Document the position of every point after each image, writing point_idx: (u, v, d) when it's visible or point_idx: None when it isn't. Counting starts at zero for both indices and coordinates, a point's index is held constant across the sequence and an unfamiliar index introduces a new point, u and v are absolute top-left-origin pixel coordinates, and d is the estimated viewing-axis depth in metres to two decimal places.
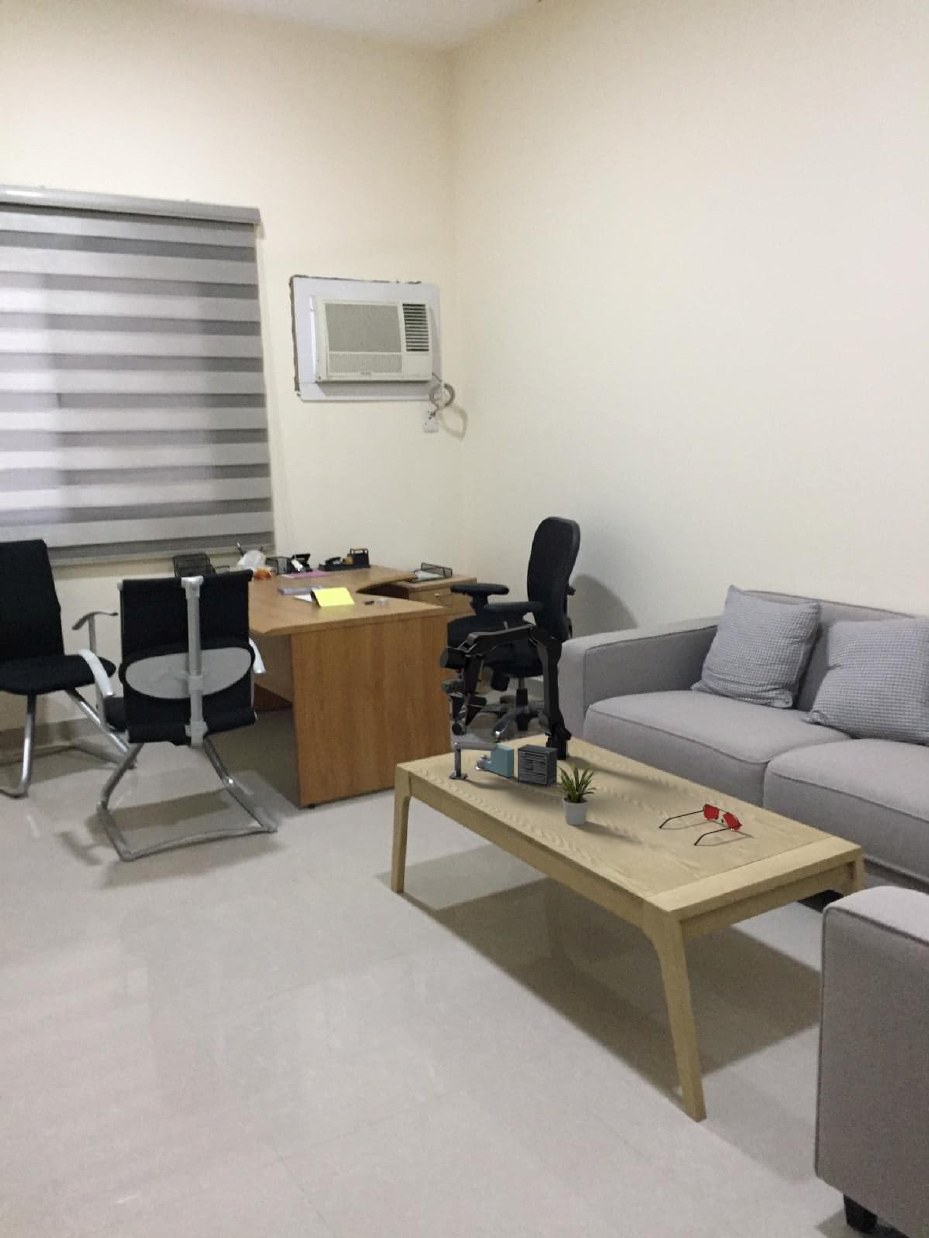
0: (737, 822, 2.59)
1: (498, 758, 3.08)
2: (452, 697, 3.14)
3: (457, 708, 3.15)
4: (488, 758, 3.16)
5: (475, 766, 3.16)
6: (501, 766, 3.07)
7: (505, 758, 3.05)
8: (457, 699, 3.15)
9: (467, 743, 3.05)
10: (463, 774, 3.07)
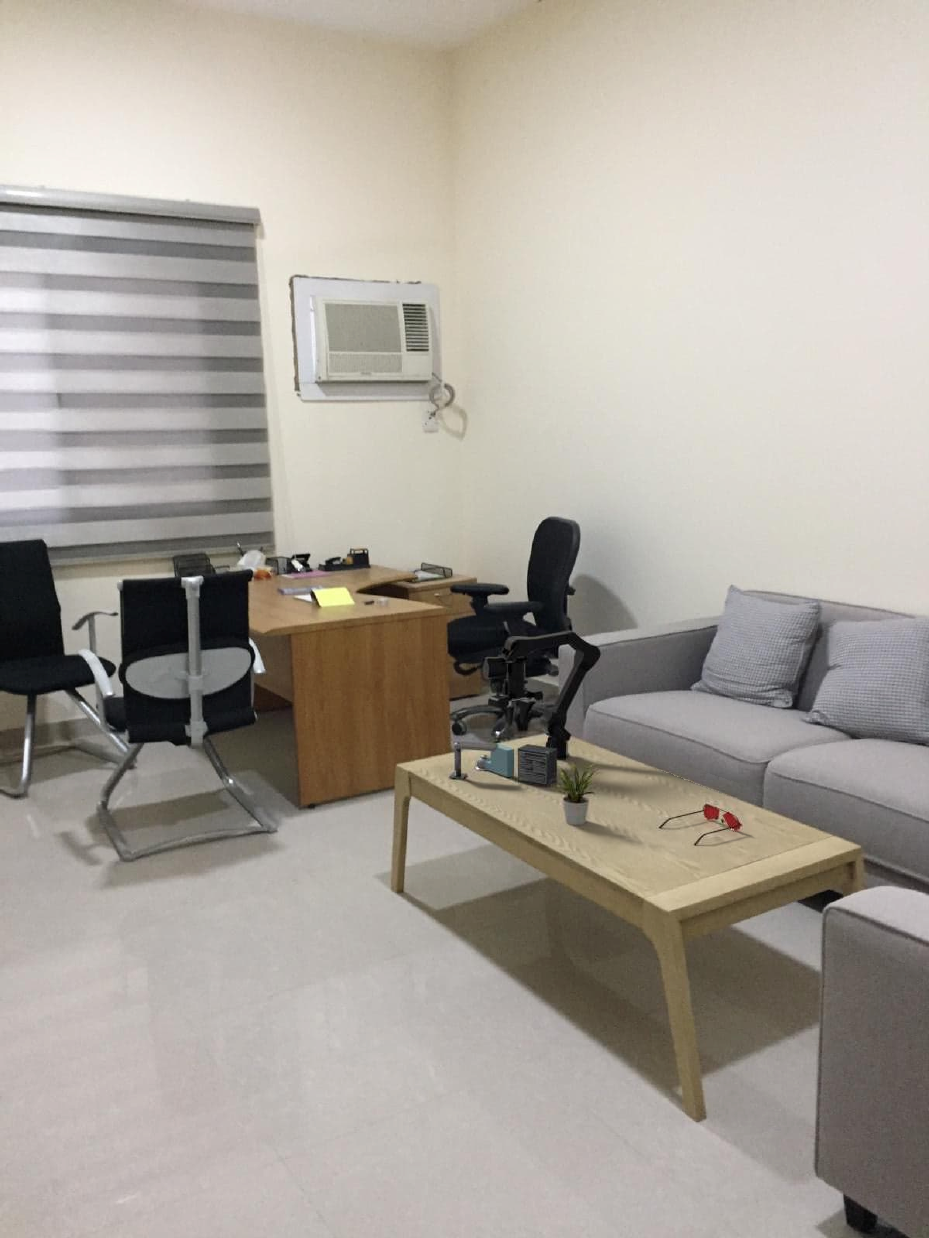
0: (737, 822, 2.59)
1: (498, 758, 3.08)
2: (519, 702, 3.23)
3: (523, 713, 3.22)
4: (488, 758, 3.16)
5: (475, 766, 3.16)
6: (501, 766, 3.07)
7: (505, 758, 3.05)
8: (523, 703, 3.22)
9: (467, 743, 3.05)
10: (463, 774, 3.07)
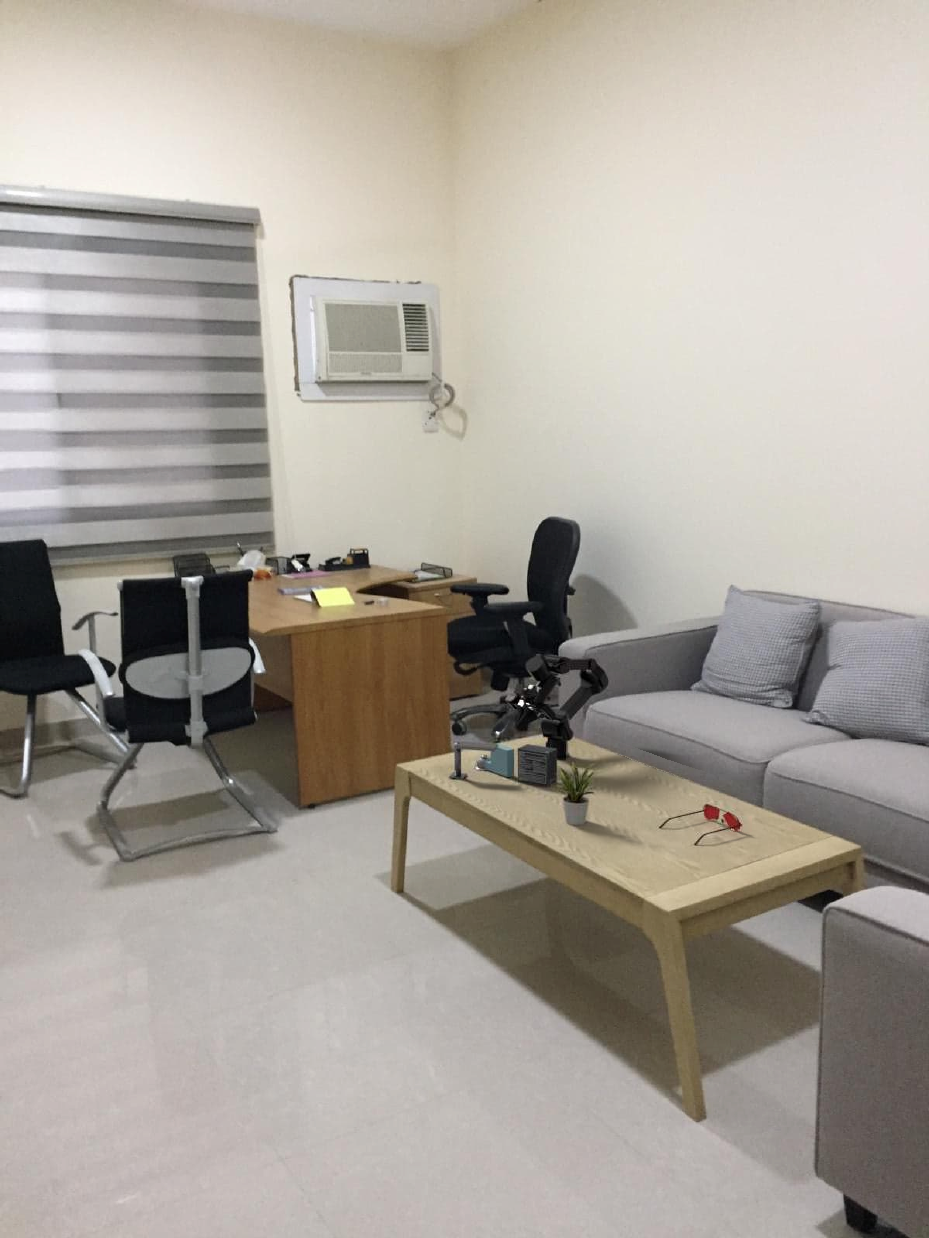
0: (737, 822, 2.59)
1: (498, 758, 3.08)
2: (522, 708, 3.14)
3: None
4: (488, 758, 3.16)
5: (475, 766, 3.16)
6: (501, 766, 3.07)
7: (505, 758, 3.05)
8: None
9: (467, 743, 3.05)
10: (463, 774, 3.07)
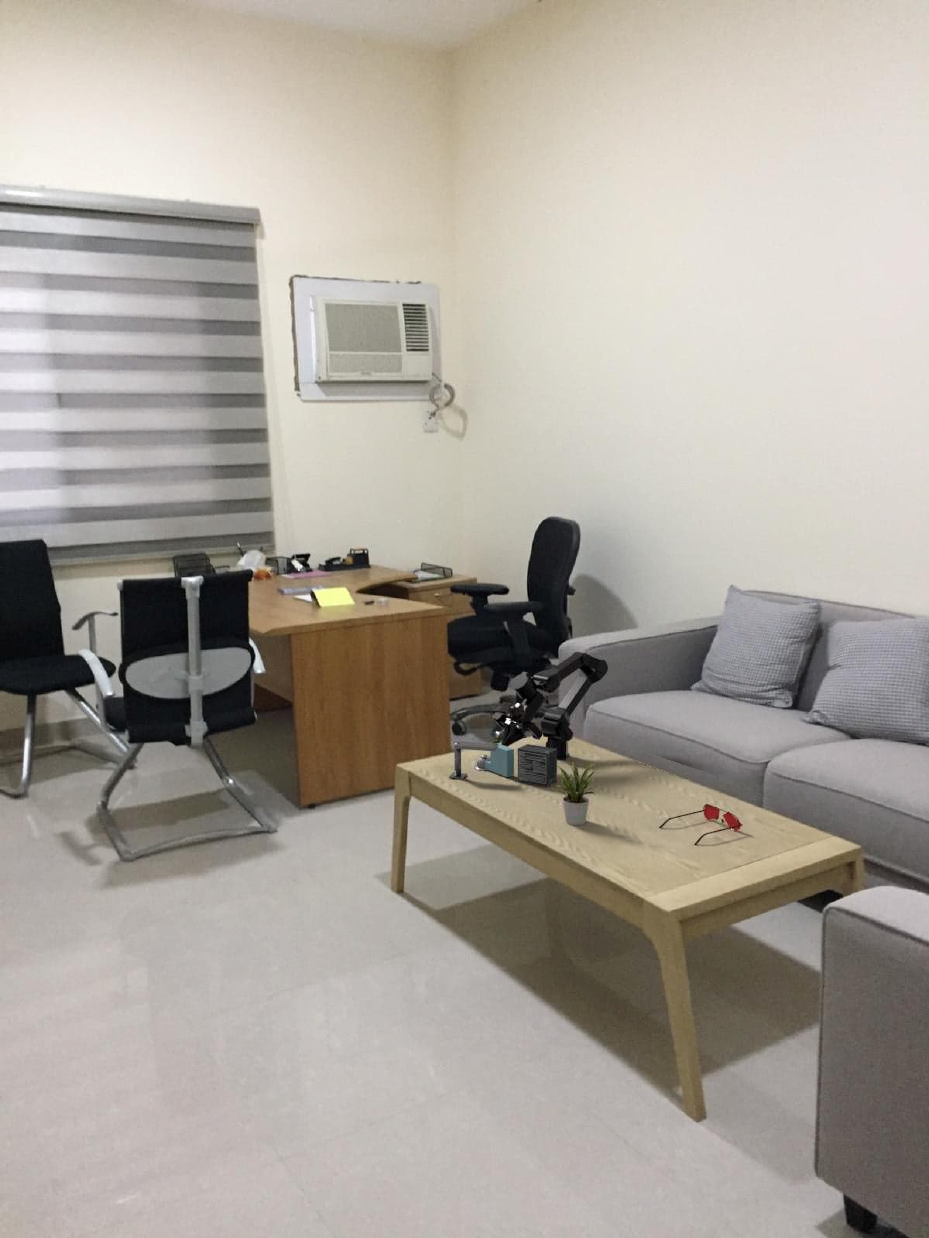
0: (737, 822, 2.59)
1: (498, 758, 3.08)
2: (508, 726, 3.12)
3: None
4: (488, 758, 3.16)
5: (475, 766, 3.16)
6: (500, 766, 3.07)
7: (504, 758, 3.05)
8: None
9: (467, 743, 3.05)
10: (463, 774, 3.07)
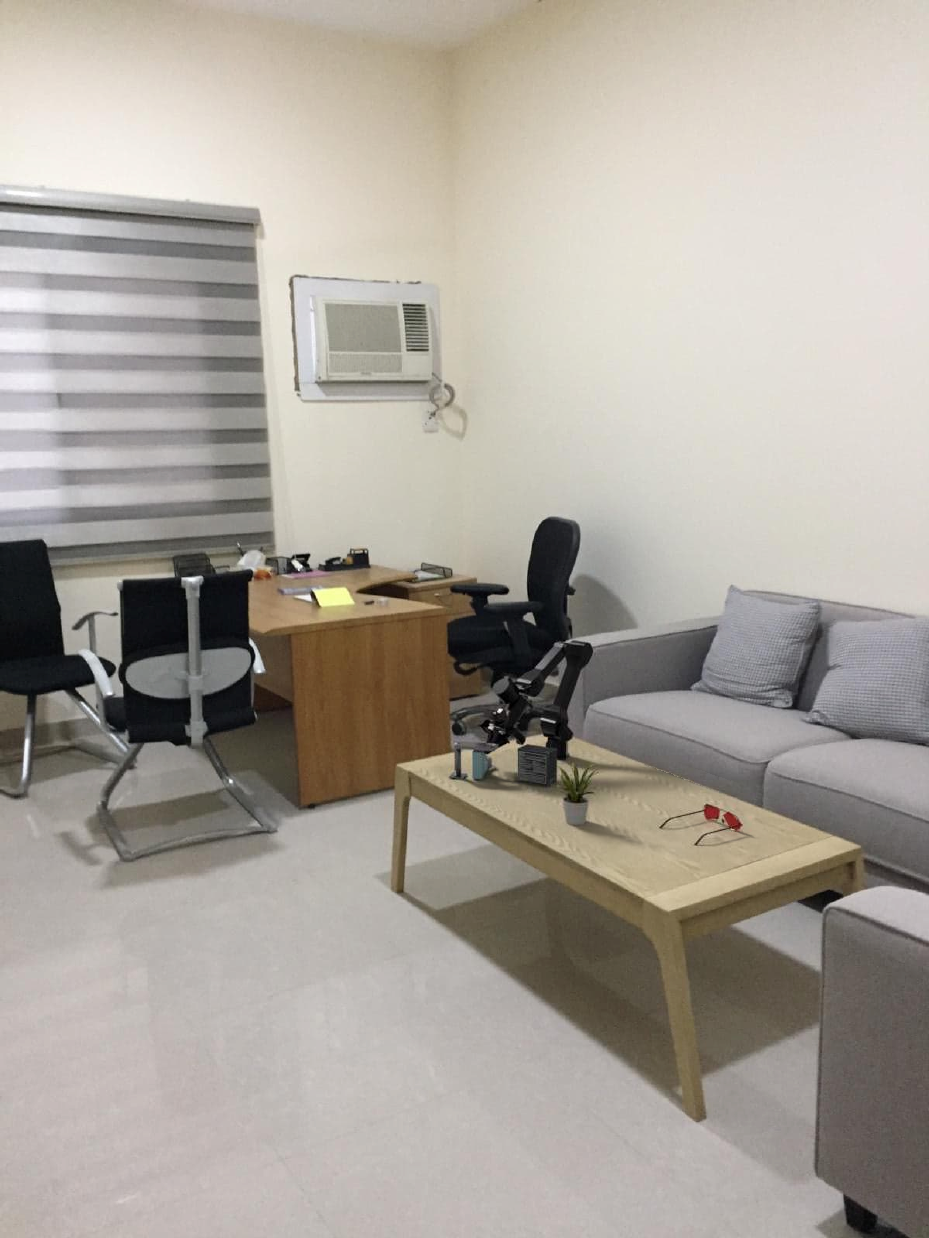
0: (738, 822, 2.59)
1: None
2: (492, 732, 3.08)
3: None
4: (487, 759, 3.15)
5: None
6: None
7: None
8: None
9: (467, 743, 3.05)
10: (463, 774, 3.07)
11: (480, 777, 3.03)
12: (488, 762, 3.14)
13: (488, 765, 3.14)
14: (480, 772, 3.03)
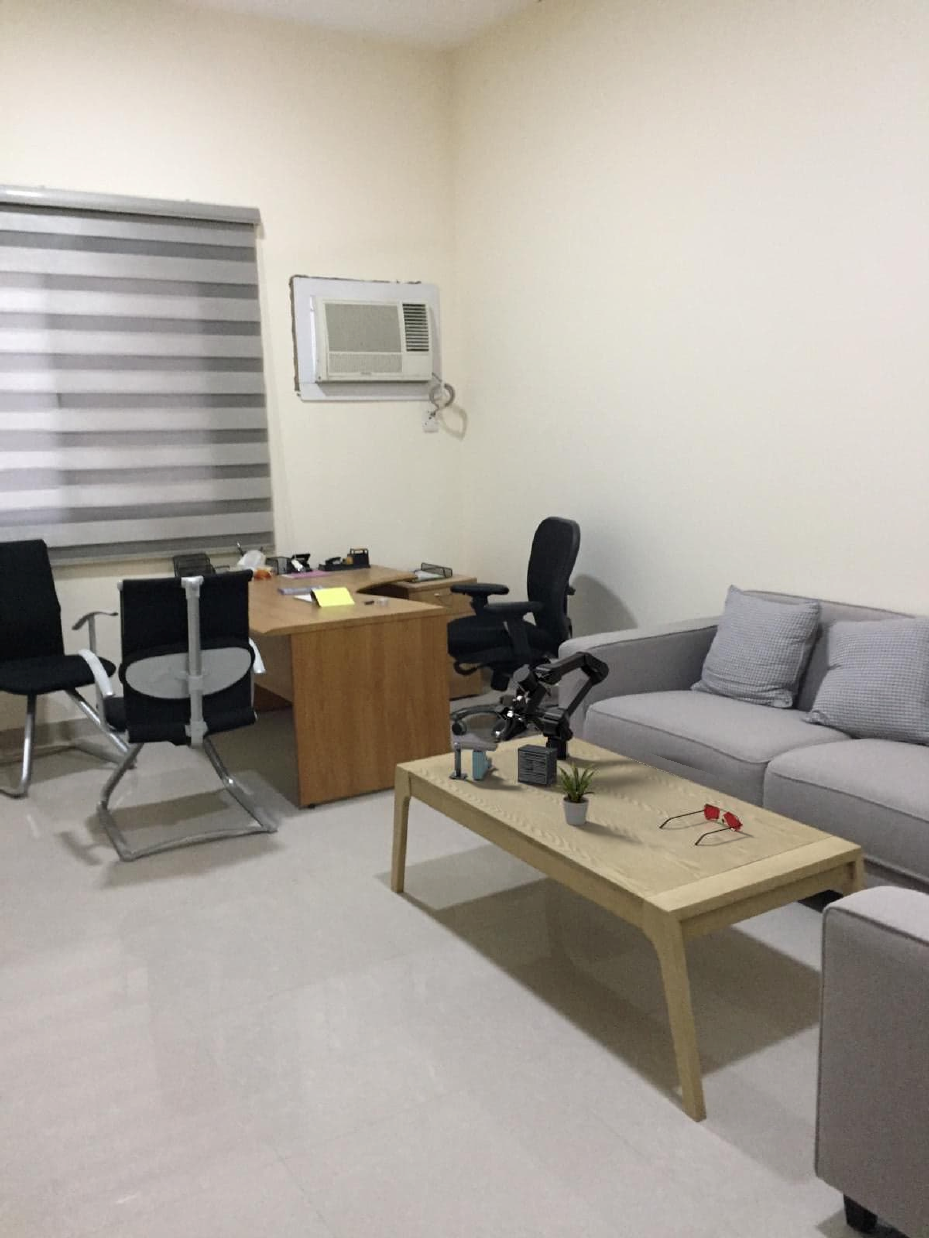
0: (738, 822, 2.59)
1: None
2: (511, 719, 3.12)
3: None
4: (487, 759, 3.15)
5: None
6: None
7: None
8: None
9: (467, 743, 3.05)
10: (463, 774, 3.07)
11: (480, 777, 3.03)
12: (488, 762, 3.14)
13: (488, 765, 3.14)
14: (480, 772, 3.03)
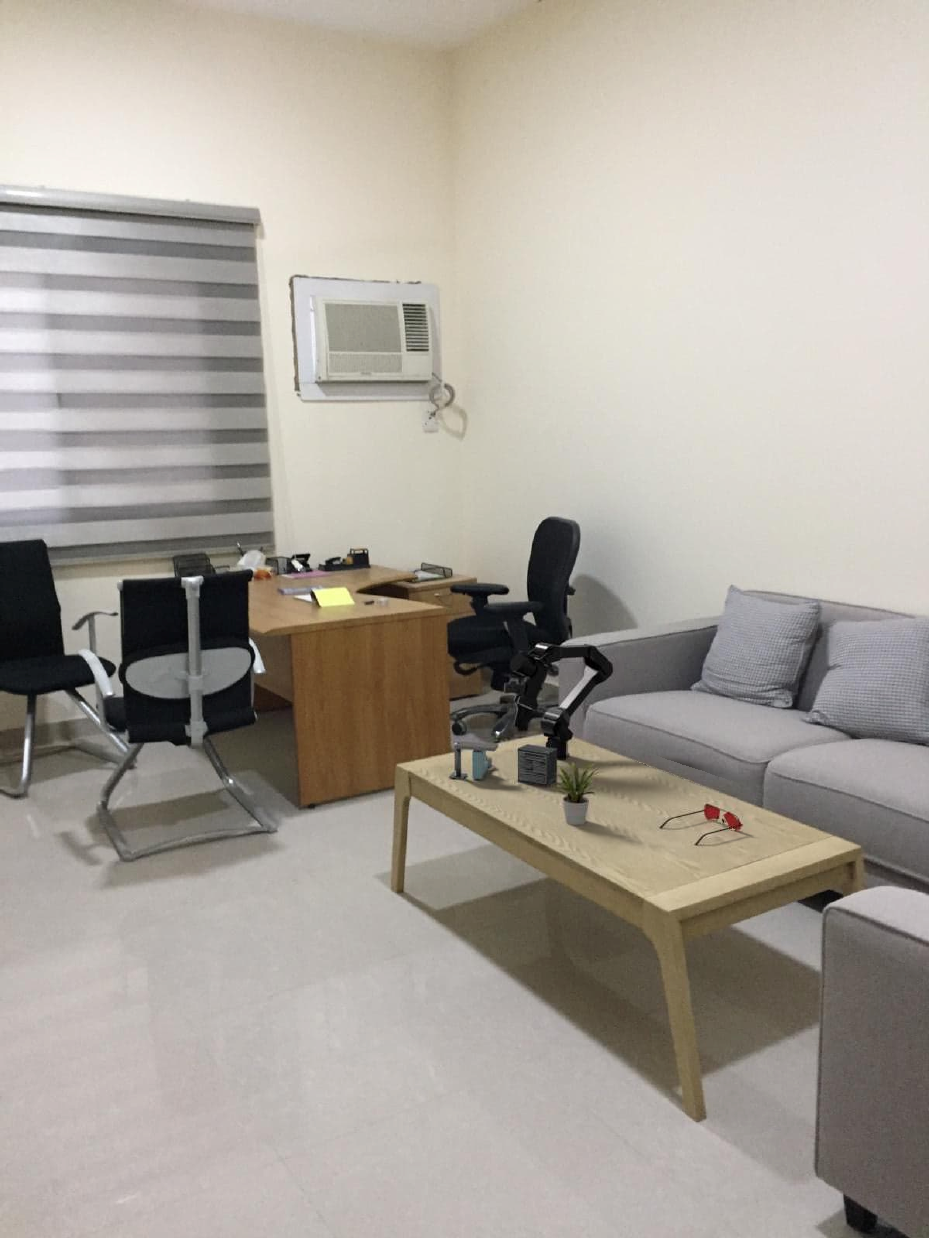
0: (738, 822, 2.59)
1: None
2: None
3: None
4: (487, 759, 3.15)
5: None
6: None
7: None
8: None
9: (467, 743, 3.05)
10: (463, 774, 3.07)
11: (480, 777, 3.03)
12: (488, 762, 3.14)
13: (488, 765, 3.14)
14: (480, 772, 3.03)
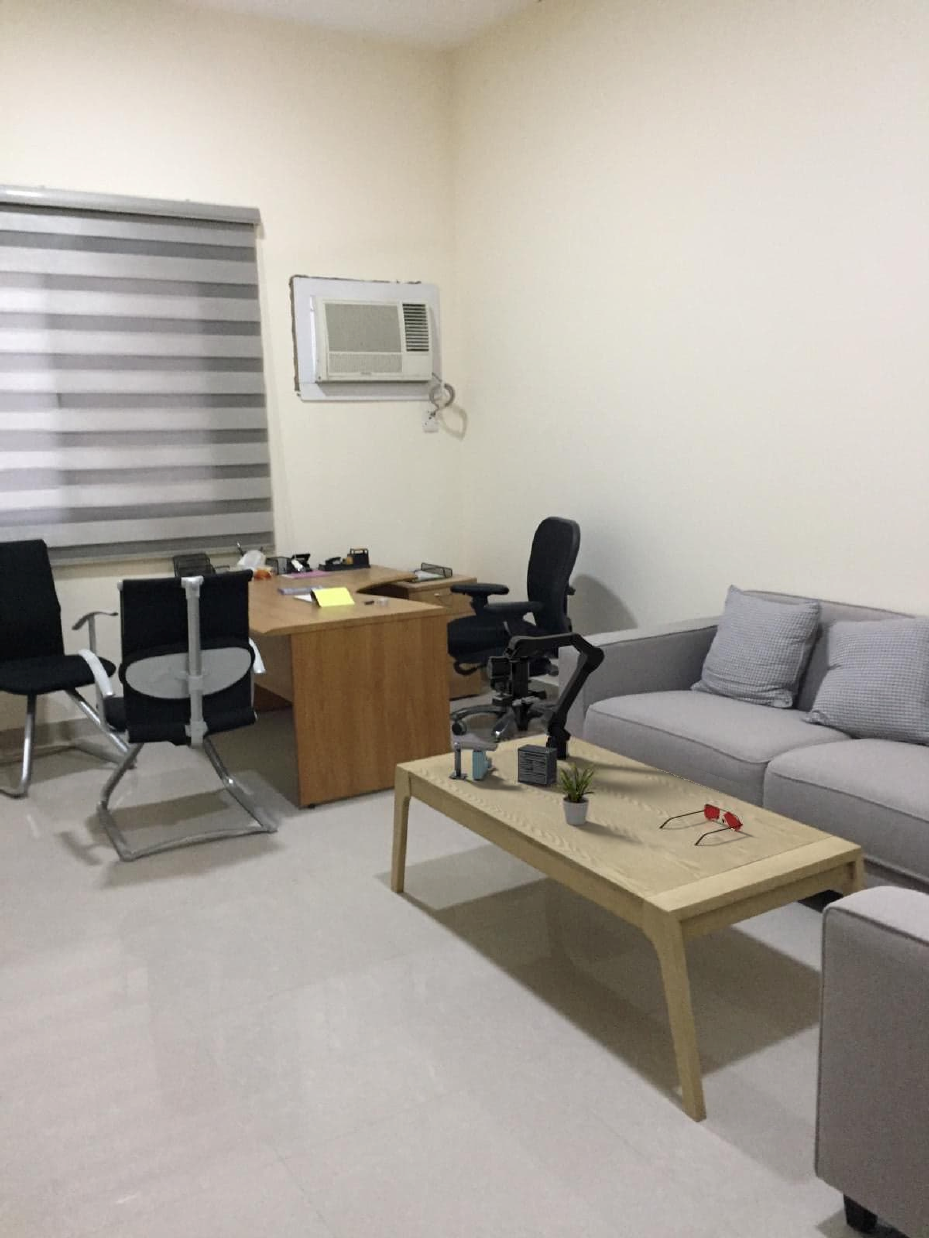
0: (738, 822, 2.59)
1: None
2: None
3: None
4: (487, 759, 3.15)
5: None
6: None
7: None
8: (521, 704, 3.21)
9: (467, 743, 3.05)
10: (463, 774, 3.07)
11: (480, 777, 3.03)
12: (488, 762, 3.14)
13: (488, 765, 3.14)
14: (480, 772, 3.03)
